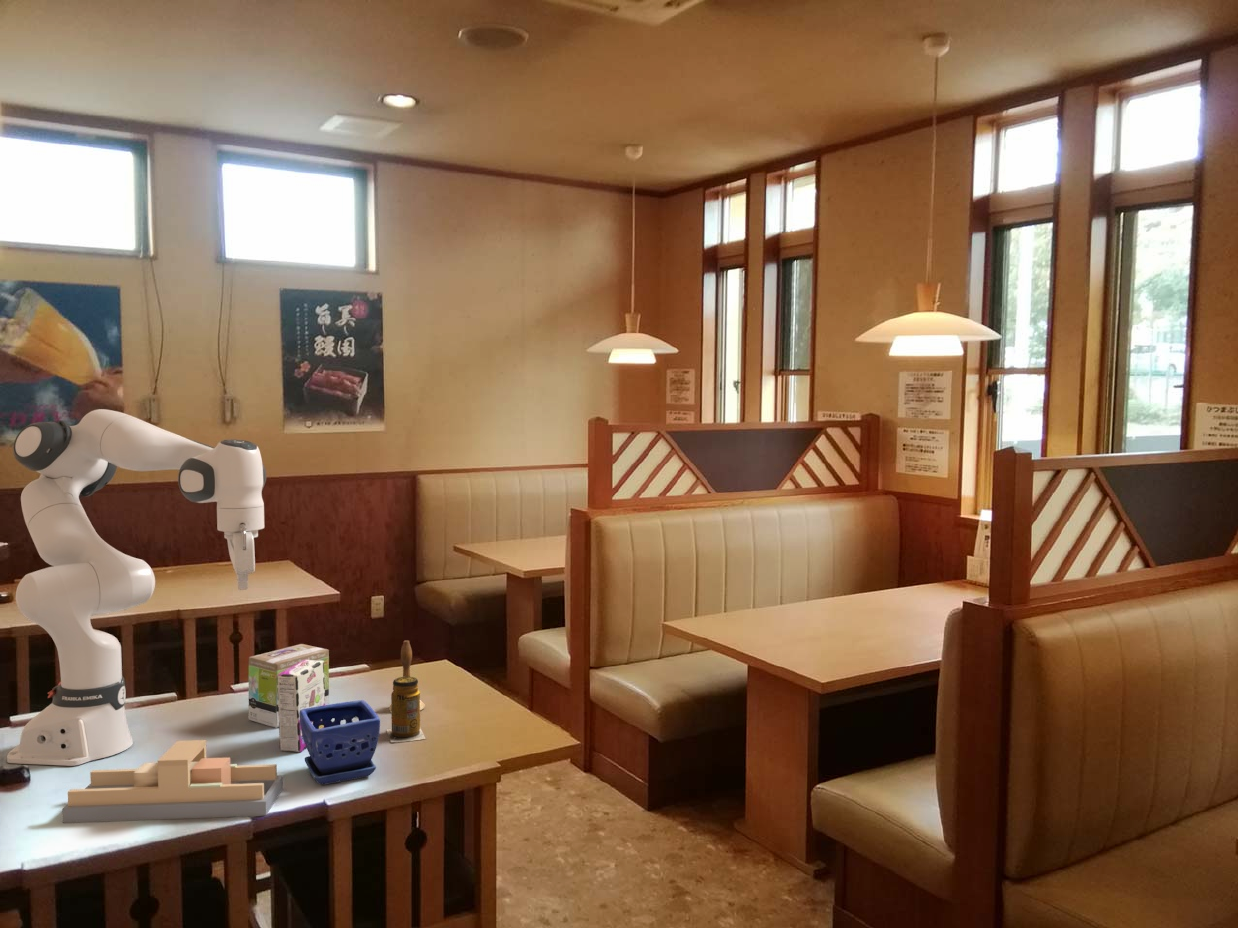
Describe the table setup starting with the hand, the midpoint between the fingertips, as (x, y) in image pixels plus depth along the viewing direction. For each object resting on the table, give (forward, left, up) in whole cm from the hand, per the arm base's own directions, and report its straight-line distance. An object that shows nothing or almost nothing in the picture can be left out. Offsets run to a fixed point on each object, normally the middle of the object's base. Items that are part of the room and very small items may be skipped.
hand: (242, 588), depth 192 cm
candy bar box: (+10, +5, -34) cm, 36 cm away
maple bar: (-7, -24, -32) cm, 40 cm away
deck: (-5, -24, -34) cm, 42 cm away
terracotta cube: (+1, -24, -32) cm, 40 cm away
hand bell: (+29, +26, -34) cm, 52 cm away
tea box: (+3, +23, -34) cm, 42 cm away
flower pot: (+21, -12, -34) cm, 42 cm away
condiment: (+31, +8, -34) cm, 47 cm away
